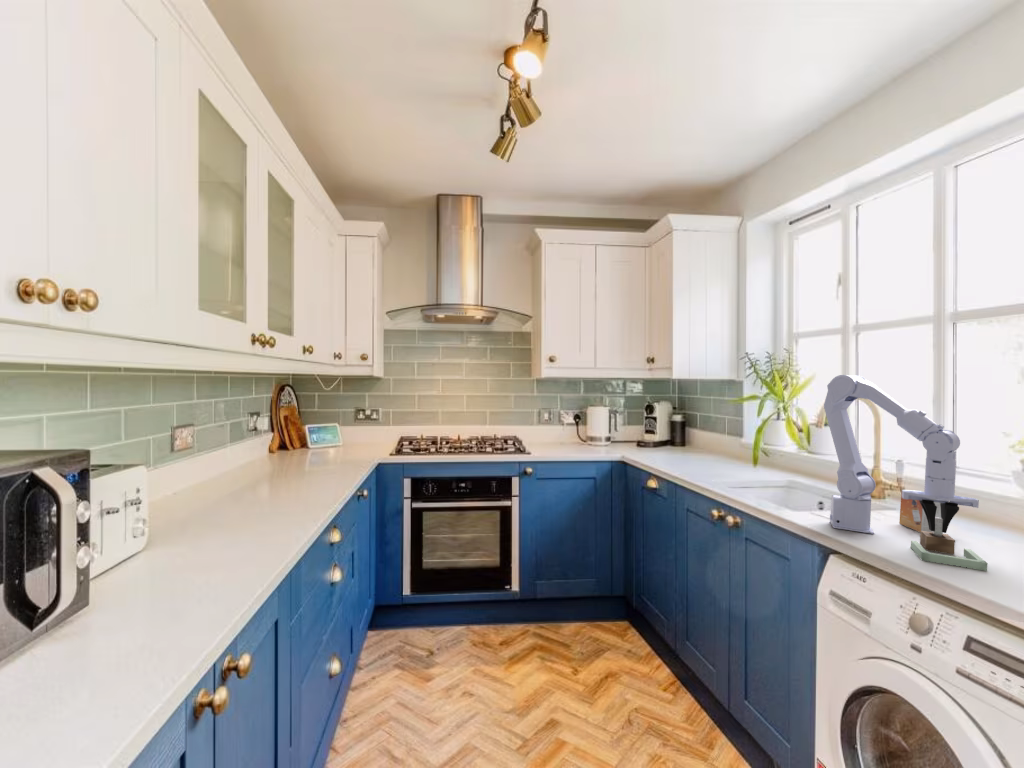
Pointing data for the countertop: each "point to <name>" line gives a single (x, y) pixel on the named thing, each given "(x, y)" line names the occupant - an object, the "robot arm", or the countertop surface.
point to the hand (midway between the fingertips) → (937, 530)
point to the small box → (915, 514)
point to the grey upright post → (938, 527)
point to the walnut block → (937, 542)
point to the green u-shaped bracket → (951, 558)
